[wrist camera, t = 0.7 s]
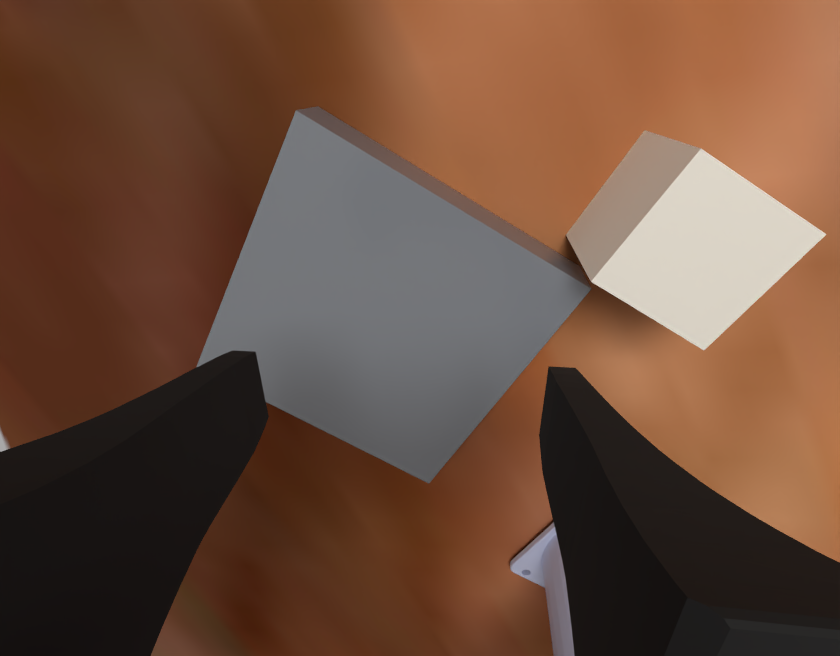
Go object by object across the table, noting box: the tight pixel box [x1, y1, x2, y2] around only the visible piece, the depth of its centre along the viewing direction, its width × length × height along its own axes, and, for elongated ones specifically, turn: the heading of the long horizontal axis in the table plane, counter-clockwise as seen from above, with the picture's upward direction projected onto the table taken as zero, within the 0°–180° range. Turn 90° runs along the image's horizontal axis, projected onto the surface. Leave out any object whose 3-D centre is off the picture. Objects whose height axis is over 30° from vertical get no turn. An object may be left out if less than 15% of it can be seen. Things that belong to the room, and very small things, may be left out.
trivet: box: [197, 106, 591, 483], centre depth 20 cm, size 12×12×2 cm
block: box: [566, 130, 826, 350], centre depth 16 cm, size 4×4×5 cm
